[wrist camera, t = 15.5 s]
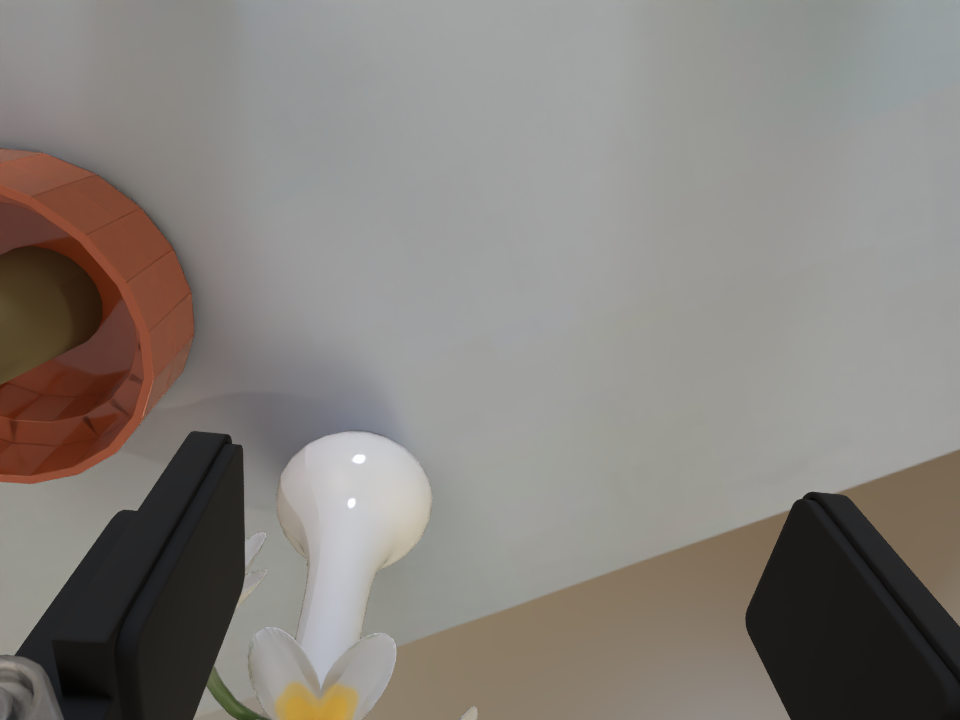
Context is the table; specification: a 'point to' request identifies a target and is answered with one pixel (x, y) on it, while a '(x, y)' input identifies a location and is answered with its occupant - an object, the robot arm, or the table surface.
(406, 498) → the flower vase
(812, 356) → the table surface
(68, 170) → the orange plant pot
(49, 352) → the olive peg figure
